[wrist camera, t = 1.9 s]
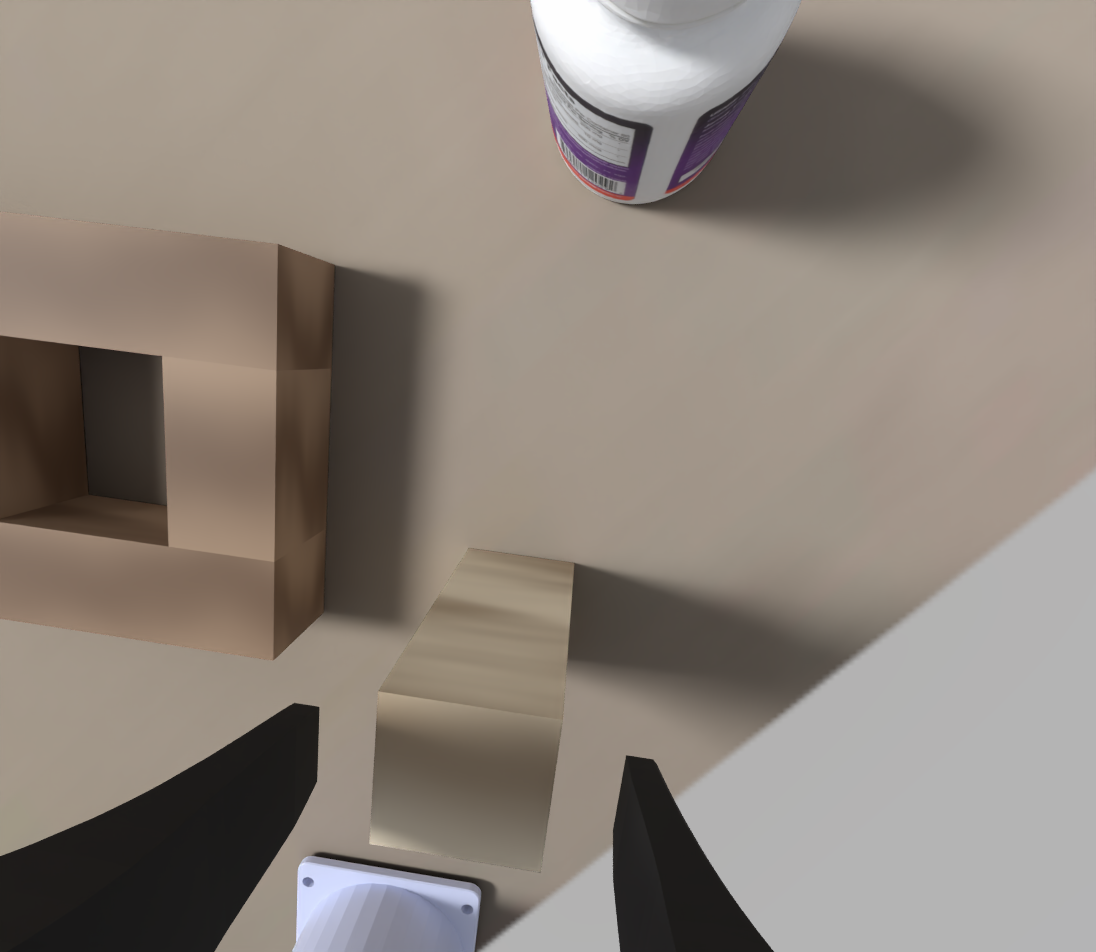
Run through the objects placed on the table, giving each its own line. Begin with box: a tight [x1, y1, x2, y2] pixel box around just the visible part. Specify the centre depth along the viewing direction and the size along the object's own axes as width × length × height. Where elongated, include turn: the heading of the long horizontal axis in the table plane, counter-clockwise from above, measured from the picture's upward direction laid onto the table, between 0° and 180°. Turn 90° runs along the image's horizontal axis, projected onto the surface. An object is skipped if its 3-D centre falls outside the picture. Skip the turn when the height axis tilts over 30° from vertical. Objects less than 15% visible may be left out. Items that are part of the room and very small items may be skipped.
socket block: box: [0, 212, 335, 660], centre depth 19 cm, size 13×13×4 cm
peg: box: [369, 548, 574, 873], centre depth 16 cm, size 4×4×9 cm
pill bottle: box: [530, 0, 801, 204], centre depth 12 cm, size 5×5×10 cm
